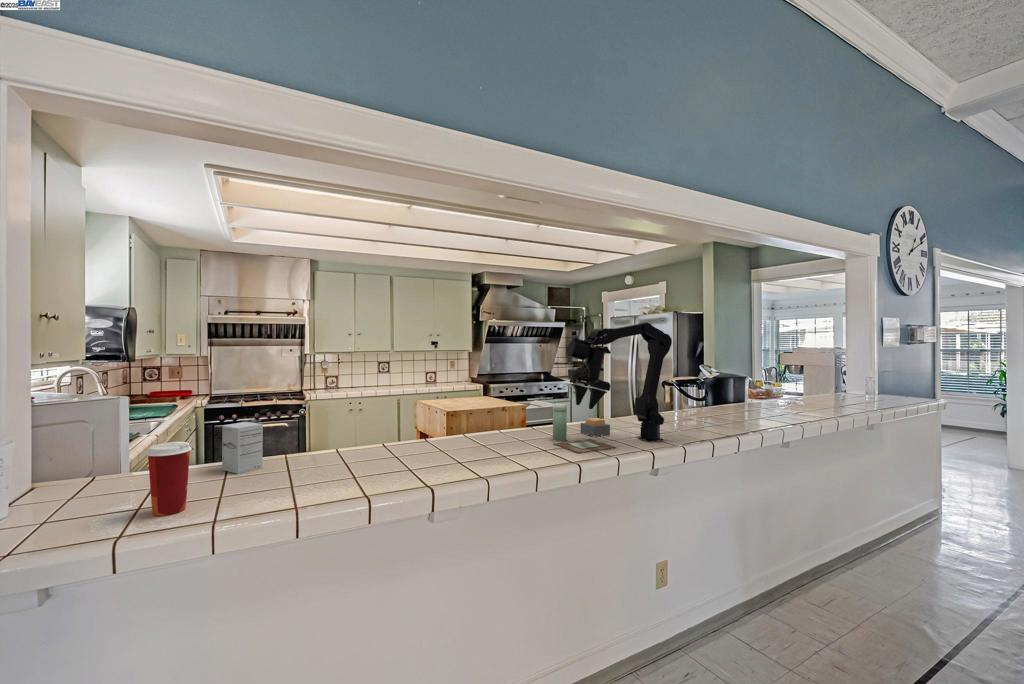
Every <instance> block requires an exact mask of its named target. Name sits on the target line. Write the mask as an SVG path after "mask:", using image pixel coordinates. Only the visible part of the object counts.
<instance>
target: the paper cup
mask: <svg viewBox="0 0 1024 684" xmlns="http://www.w3.org/2000/svg"><path fill="white" fill-rule="evenodd" d="M192 449H193V448H192V447H191V446H190V443H189V442H187V441H171V442H170V441H169V442H163V443H162V442H161V443H158V444H154V445H150V447H149V448H148V451H147V452H146V453H145V455H146V456H147V458H148V473H149V488H150V499H151V500H150V501H151V511H152V515H153V516H155V517H166V516H167V517H168V516H172V515H177V514H179V513H182V512H184V511H185V510H186V508H187V498H188V497H187V496H188V485H189V484H188V483H189V471H190V469H189V467H190V455H191V453H190V452H191V451H192Z"/></svg>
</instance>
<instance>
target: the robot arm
mask: <svg viewBox="0 0 1024 684" xmlns="http://www.w3.org/2000/svg"><path fill="white" fill-rule="evenodd" d="M638 335H640V336H641V338H642V339H643V341H645V342H646V343H647V352H648V354H649V359H648V364H647V369H646V374H645V379H644V384H643V388H642V394H641V395H640V396H639V397H638V396H636V397H635V399H634V405H633V407H632V408H633V409H634V410H633V413H634V414H635V415H636V417H637V420H638V422H641V424H640V436H638V437H637V439H639V440H642V441H645V440H646V441H645V442H649V441H654V442H658V441H657V440H661V441H664V439H663V438H661V436H660V435H661V433H660V432H661V431H660V430H661V426H662V425H664V423H665V418H664V416H662V415H661V414H660V412H659V403H658V399H657V394H658V390H659V383H660V378H661V373H662V367H663V363H664V359H665V357H666V356H667V354H668V353H669V352H670V349H671V347H672V343H673V340H672V337H671V336H670V335H669V333H665V332H664V331H662V330H661V329H659V328H658V327H655V326H654V325H652V324H651V323H650V322H649V321H648V322H647V321H646V322H639V323H634V324H630V325H626V326H620V327H614V328H613V327H612V328H608V327H607V328H605V327H604V328H594V329H591V331H590V333H589V335H588V336H586V338H584V339H581V338H577V337H572V338H571V341H570V342H569V343H568V345H567V346H566V356H568V357H569V358H574V359H577V360H581V361H585V363H582V364H581V366H580V367H579V366H577V368H569V369H567V374H568V375H567V376H568V380H569V383H570V385H571V386H572V387H573V389H574V393H575V405H576V406H580V405H581V403H582V401H583V399H584V397H585V395H586V394H587V391H588V390H589V392H590V395H589V401H588V409H589V410H594V408H595V406H596V405H597V404H598V403H599V402H600V400H601V399H602V397H604V395H606V394H607V393H608V392H610V390H611V387H612V386H611V383H610V382H609V381H605V380H603V379H602V380H601V379H600V375H601V372H604V369H605V368H603V363H604V359H605V354H608V355H610V354H611V353H612V352H611V350H610V349H609V347H608V346H606V345H608V344H611V343H613V342H615V341H617V340H619V339H622V338H628V337H633V336H638ZM599 345H600V346H599ZM591 346H593V347H591Z"/></svg>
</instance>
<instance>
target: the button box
mask: <svg viewBox="0 0 1024 684" xmlns="http://www.w3.org/2000/svg"><path fill="white" fill-rule="evenodd" d="M582 433H585V434H588V435H591V436H599V437H602V436H601V435H607V436H611V424H609V423H605V425H597V426H593V425H589V424H586V421H585V422H580V434H582ZM585 434H584V435H585ZM588 435H587V436H588ZM591 436H590V437H591Z"/></svg>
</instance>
